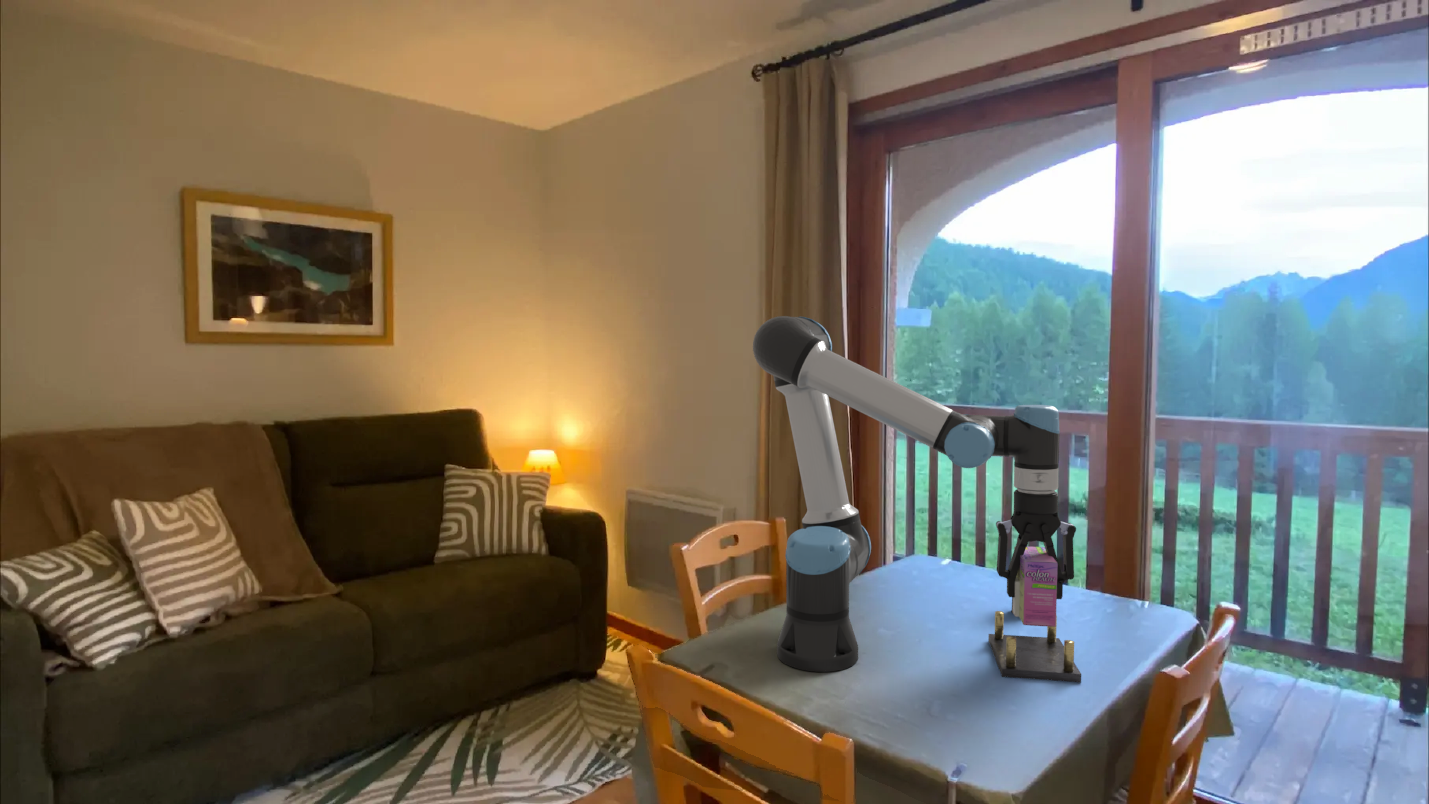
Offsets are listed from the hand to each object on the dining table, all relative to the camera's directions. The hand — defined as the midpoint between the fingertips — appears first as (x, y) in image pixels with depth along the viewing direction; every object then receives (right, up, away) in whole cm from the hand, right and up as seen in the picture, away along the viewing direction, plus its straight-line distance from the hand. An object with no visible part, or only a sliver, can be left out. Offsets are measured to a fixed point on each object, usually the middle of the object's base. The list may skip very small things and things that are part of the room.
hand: (1034, 614), depth 147 cm
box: (0, -1, 0) cm, 1 cm away
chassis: (0, -9, +1) cm, 9 cm away
